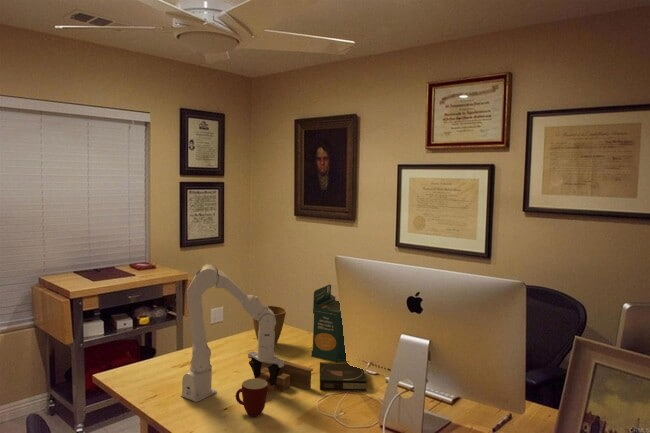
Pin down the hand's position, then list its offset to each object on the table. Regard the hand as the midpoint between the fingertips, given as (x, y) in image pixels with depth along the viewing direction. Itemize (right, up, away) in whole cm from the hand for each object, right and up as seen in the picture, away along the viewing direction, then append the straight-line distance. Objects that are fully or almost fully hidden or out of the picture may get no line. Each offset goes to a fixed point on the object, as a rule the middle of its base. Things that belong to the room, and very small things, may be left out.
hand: (265, 382), depth 172 cm
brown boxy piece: (0, -3, 0) cm, 3 cm away
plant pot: (-4, +1, +45) cm, 45 cm away
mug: (-3, -5, -17) cm, 18 cm away
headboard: (+4, -2, +6) cm, 8 cm away
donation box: (+26, -1, +37) cm, 45 cm away
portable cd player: (+27, -4, +10) cm, 29 cm away
